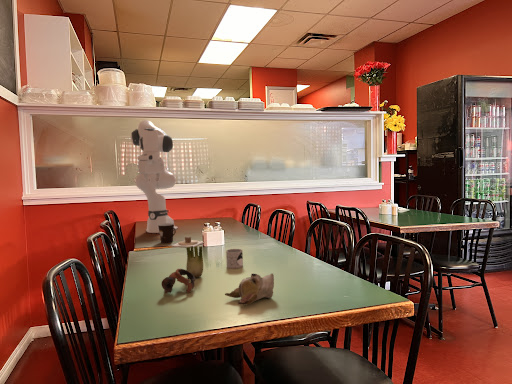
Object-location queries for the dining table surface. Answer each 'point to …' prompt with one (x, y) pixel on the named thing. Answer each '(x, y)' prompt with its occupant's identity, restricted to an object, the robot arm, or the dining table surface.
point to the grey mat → (187, 245)
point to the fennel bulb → (195, 261)
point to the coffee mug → (166, 232)
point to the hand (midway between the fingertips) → (152, 181)
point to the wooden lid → (188, 241)
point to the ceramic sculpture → (253, 289)
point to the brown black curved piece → (170, 280)
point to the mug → (234, 258)
